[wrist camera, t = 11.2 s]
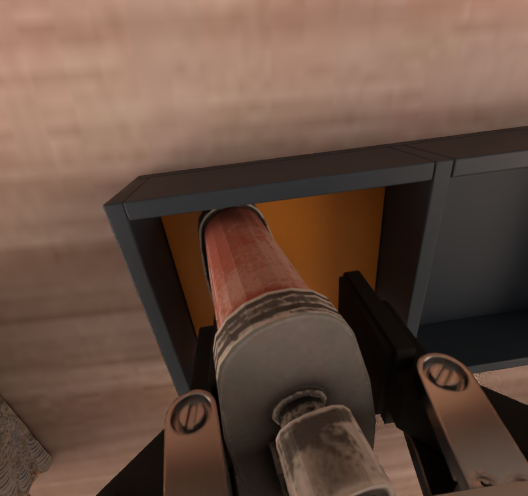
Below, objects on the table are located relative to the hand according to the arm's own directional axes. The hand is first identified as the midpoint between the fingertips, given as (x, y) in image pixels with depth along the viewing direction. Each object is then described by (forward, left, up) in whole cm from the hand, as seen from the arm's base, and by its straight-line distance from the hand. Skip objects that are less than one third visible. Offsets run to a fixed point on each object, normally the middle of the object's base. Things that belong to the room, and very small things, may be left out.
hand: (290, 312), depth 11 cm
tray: (-5, 0, -3) cm, 6 cm away
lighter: (+2, 0, -2) cm, 3 cm away
